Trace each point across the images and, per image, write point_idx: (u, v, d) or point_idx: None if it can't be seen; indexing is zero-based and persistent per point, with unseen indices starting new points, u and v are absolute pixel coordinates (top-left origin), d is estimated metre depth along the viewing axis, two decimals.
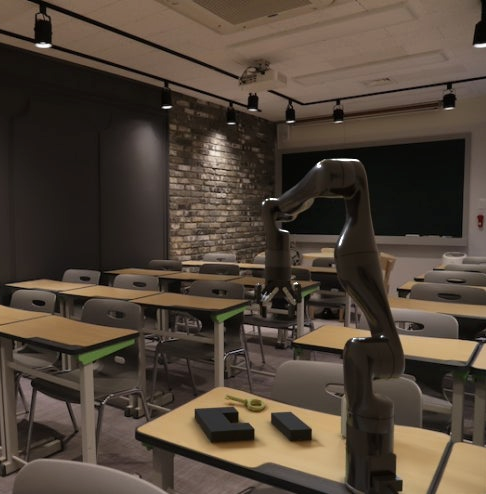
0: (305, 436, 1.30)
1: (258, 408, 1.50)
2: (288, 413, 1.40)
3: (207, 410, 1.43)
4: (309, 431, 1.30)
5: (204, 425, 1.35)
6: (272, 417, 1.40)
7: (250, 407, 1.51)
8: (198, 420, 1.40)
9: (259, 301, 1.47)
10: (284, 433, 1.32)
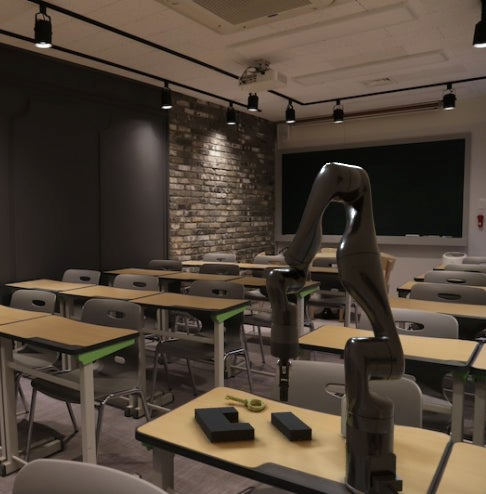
0: (305, 436, 1.30)
1: (258, 408, 1.50)
2: (288, 413, 1.40)
3: (207, 410, 1.43)
4: (309, 431, 1.30)
5: (204, 425, 1.35)
6: (272, 417, 1.40)
7: (250, 407, 1.51)
8: (198, 420, 1.40)
9: (288, 384, 1.32)
10: (284, 433, 1.32)
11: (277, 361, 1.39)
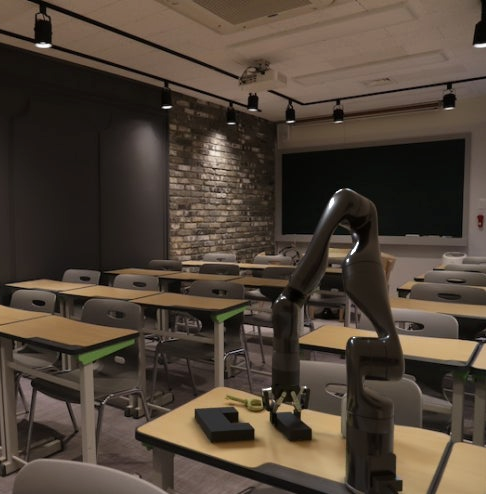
0: (305, 436, 1.30)
1: (258, 408, 1.50)
2: (288, 413, 1.40)
3: (207, 410, 1.43)
4: (309, 431, 1.30)
5: (204, 425, 1.35)
6: None
7: (250, 407, 1.51)
8: (198, 420, 1.40)
9: None
10: (284, 433, 1.33)
11: (285, 391, 1.36)
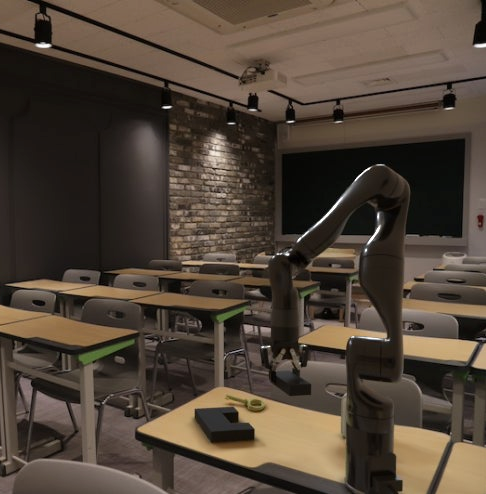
0: (304, 392, 1.29)
1: (258, 408, 1.50)
2: (287, 372, 1.39)
3: (207, 410, 1.43)
4: (308, 386, 1.29)
5: (204, 425, 1.35)
6: None
7: (250, 407, 1.51)
8: (198, 420, 1.40)
9: None
10: (283, 389, 1.32)
11: (284, 348, 1.35)
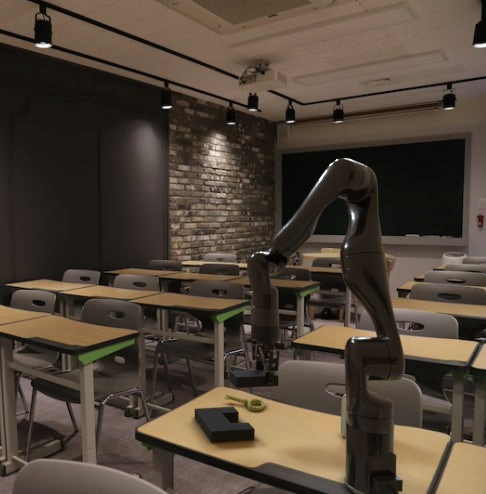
0: (234, 382, 1.36)
1: (258, 408, 1.50)
2: None
3: (207, 410, 1.43)
4: (235, 378, 1.35)
5: (204, 425, 1.35)
6: None
7: (250, 407, 1.51)
8: (198, 420, 1.40)
9: None
10: None
11: (257, 345, 1.38)
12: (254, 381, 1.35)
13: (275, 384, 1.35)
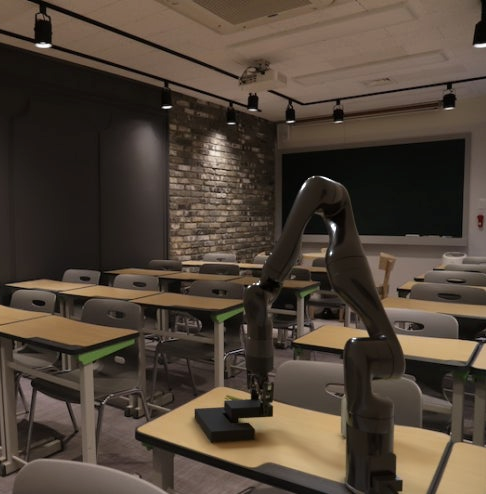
0: (229, 413, 1.36)
1: None
2: None
3: (207, 410, 1.43)
4: (230, 409, 1.35)
5: (204, 425, 1.35)
6: None
7: None
8: (198, 420, 1.40)
9: None
10: None
11: (251, 375, 1.39)
12: (249, 412, 1.35)
13: (270, 415, 1.36)
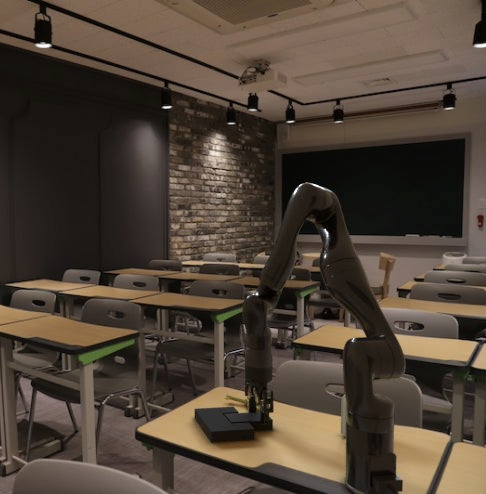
0: None
1: (258, 408, 1.50)
2: None
3: (207, 410, 1.43)
4: None
5: (204, 425, 1.35)
6: None
7: None
8: (198, 420, 1.40)
9: None
10: None
11: (251, 385, 1.39)
12: None
13: (269, 428, 1.36)
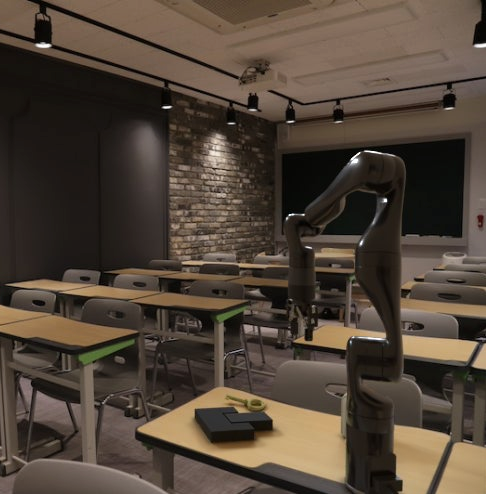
0: None
1: (258, 408, 1.50)
2: (266, 418, 1.37)
3: (207, 410, 1.43)
4: None
5: (204, 425, 1.35)
6: None
7: (250, 407, 1.51)
8: (198, 420, 1.40)
9: None
10: None
11: (294, 305, 1.43)
12: None
13: (269, 428, 1.36)
